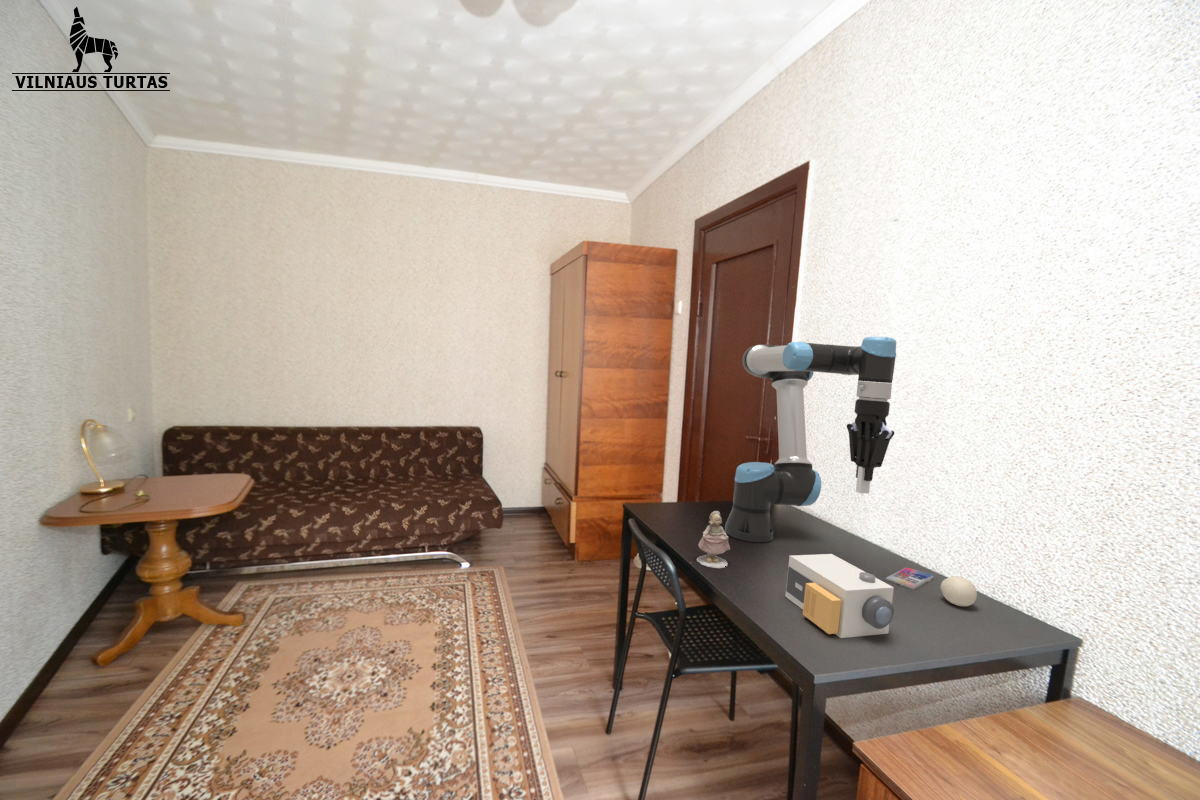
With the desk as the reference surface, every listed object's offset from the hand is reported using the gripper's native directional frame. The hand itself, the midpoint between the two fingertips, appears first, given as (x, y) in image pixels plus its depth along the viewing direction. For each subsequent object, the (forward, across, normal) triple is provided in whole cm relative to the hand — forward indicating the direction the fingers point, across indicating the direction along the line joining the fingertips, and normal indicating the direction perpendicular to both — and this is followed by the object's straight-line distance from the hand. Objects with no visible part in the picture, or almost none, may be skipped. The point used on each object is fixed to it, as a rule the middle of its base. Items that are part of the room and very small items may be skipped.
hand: (862, 492), depth 125 cm
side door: (+24, +16, -24) cm, 38 cm away
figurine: (+25, -18, -31) cm, 44 cm away
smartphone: (+25, -2, +21) cm, 33 cm away
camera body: (+24, +13, -16) cm, 32 cm away
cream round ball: (+25, +12, +20) cm, 34 cm away
